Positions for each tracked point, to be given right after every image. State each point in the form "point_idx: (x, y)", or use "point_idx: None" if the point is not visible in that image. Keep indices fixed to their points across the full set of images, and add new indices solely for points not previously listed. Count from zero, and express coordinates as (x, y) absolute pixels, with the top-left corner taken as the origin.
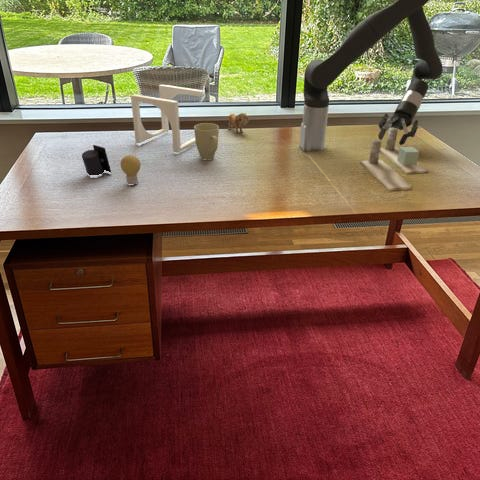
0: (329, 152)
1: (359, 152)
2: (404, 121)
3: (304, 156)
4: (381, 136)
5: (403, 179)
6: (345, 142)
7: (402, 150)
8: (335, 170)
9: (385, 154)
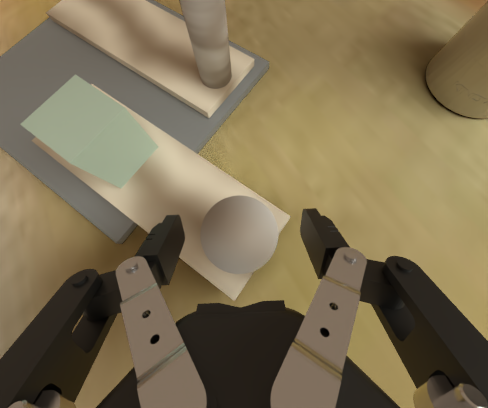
0: (399, 92)
1: (331, 165)
2: (144, 378)
3: (418, 20)
4: (306, 221)
5: (82, 33)
6: (453, 223)
7: (104, 94)
8: (282, 6)
9: (226, 173)
